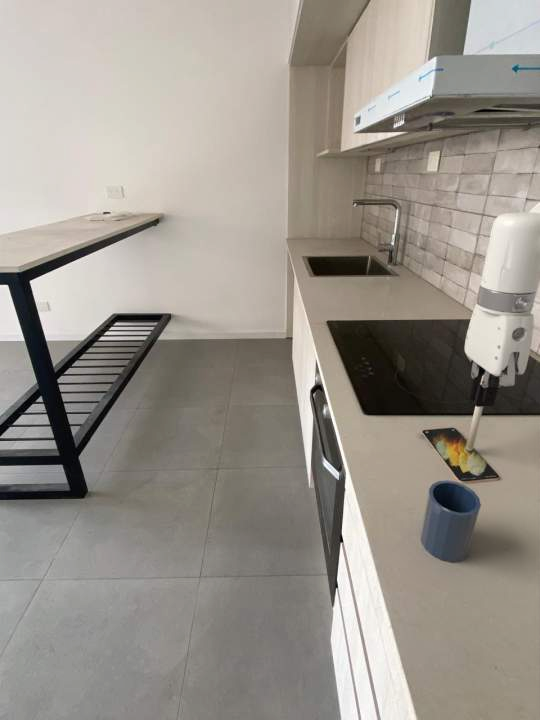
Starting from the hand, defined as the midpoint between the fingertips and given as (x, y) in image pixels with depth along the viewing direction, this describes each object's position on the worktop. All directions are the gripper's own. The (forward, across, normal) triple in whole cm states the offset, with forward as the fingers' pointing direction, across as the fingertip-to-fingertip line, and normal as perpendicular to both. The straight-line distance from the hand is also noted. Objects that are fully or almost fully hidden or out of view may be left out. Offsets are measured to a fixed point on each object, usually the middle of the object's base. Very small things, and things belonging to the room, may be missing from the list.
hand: (480, 401), depth 68 cm
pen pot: (+12, -18, +14) cm, 25 cm away
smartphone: (+12, 0, +2) cm, 12 cm away
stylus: (+11, 0, 0) cm, 11 cm away
